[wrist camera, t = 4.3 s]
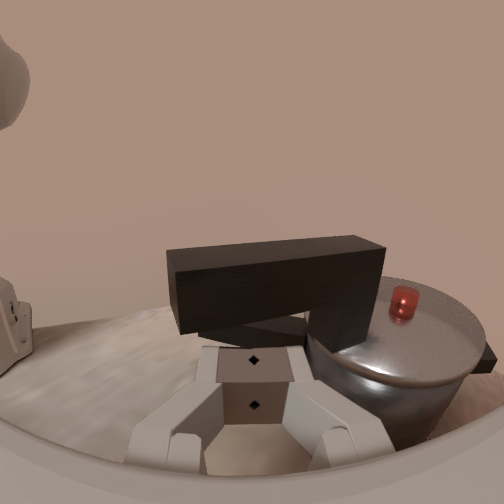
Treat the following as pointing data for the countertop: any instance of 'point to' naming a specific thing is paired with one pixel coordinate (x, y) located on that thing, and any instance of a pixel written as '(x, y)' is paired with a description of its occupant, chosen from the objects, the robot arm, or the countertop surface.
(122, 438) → the countertop surface
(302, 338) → the pressure cooker pot
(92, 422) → the countertop surface
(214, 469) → the countertop surface
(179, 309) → the pressure cooker lid
